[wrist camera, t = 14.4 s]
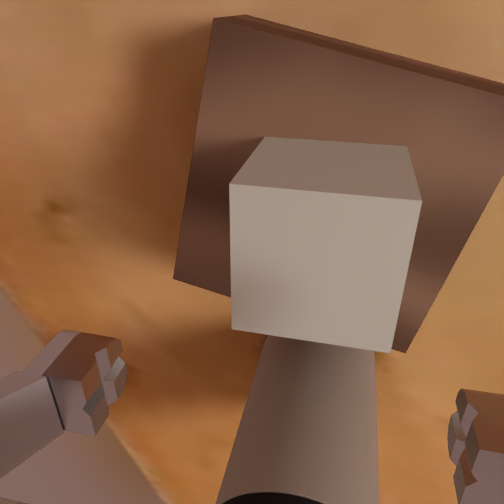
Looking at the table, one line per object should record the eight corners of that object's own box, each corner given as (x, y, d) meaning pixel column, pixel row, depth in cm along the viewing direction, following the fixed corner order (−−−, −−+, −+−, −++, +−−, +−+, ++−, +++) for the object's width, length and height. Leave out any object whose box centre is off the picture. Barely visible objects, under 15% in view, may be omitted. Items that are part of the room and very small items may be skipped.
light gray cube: (264, 136, 20) (229, 183, 15) (407, 145, 19) (422, 200, 14) (262, 255, 23) (231, 329, 18) (384, 269, 22) (390, 353, 16)
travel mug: (255, 311, 32) (150, 605, 16) (373, 311, 29) (380, 649, 14) (271, 395, 35) (197, 700, 20) (377, 400, 33) (386, 746, 18)
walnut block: (247, 14, 23) (213, 18, 18) (500, 81, 22) (541, 106, 17) (206, 231, 30) (172, 278, 25) (398, 290, 29) (405, 353, 24)
